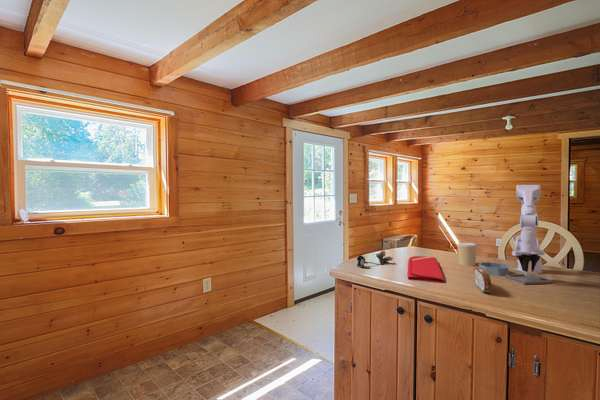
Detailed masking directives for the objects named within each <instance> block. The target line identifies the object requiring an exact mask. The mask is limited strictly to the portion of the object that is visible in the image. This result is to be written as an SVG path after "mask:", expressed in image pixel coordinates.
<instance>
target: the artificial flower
mask: <svg viewBox="0 0 600 400" xmlns="http://www.w3.org/2000/svg"><path fill="white" fill-rule="evenodd" d="M375 255H376V258H377V259H378V262H379V263H375V262H371V261H369V262H368V261H366V258H365V256H362V255H358V256H357V258H356V260H357V263H356V266H357V268H360V269H362V268H364V267H365V264H372V265H376V266H381V265H383V264H384V263H388V262H391V261H393V259H394V258H393V257H391V256H390V255H389V256H386V255H387V254H386V250H384V249H383V250H382V251H380V252H377V253H375Z"/></svg>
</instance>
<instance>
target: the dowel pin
mask: <svg viewBox="0 0 600 400" xmlns="http://www.w3.org/2000/svg"><path fill="white" fill-rule="evenodd" d="M531 267H532V261H529V264H528V272H523V274H524V277H526V278H531V274H532V272H531Z"/></svg>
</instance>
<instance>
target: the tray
mask: <svg viewBox="0 0 600 400" xmlns="http://www.w3.org/2000/svg"><path fill="white" fill-rule="evenodd" d="M504 277H505V278H507V279H509V280H513V281H515V282H518V283H521V284H523V285H524V286H538V285H539V286H540V285H545V284H547V285H552V284H553V281H552V280H551V279H548V278H546V277H542V276H539V275H536V274H532V273H531V278H526V277H524V273H516V274H513V273H512V274H508V275H504Z"/></svg>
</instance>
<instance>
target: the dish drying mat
mask: <svg viewBox="0 0 600 400" xmlns="http://www.w3.org/2000/svg"><path fill="white" fill-rule="evenodd" d="M407 280H408V281H416V280H417V281H419V282H429V283H441V284H443V283H444V282H445V279H444V275H443V273H442V270H441V267H440V264H439V262H438V259H437V258H436V257H434V256H421V255H419V256H416V255H415V256H410V257H409V258H408V261H407Z"/></svg>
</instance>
